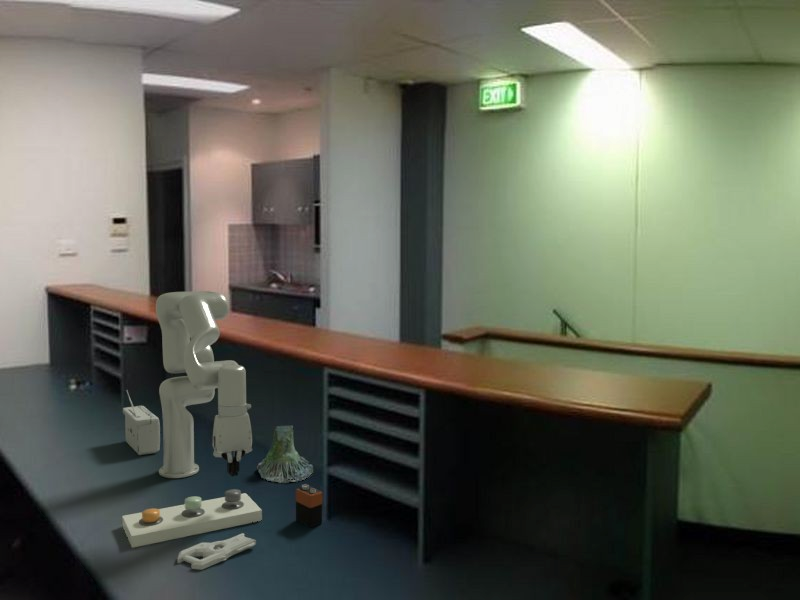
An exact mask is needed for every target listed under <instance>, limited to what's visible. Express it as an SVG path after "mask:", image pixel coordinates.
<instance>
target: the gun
mask: <svg viewBox="0 0 800 600" xmlns="http://www.w3.org/2000/svg"><path fill="white" fill-rule="evenodd" d="M256 545H257V540H256V539H253V538H250V537H246V536H245V533H243V532H242V533H239V534H238V535H237V534H236V535H235V536H232V537H230V538H227V539H224V540H217V541H213V542H200V543H197V544H195V545H193V546H192V545H191V546H190V547H187V548H186V549H182V550H181V551H179V553H178V556H177V558H176V561H177V564H181V563H184V562H186V563H187V564H188V563H189V564H191V566H190V567H191V570H198V571H199V570H200V571H201V570H205V569H207V568H209V567H211V566H215V565H216V564H218V563H221V562H224V561H227V560H228V559H229V558H230V557H232V556H235V555H236V554H239V553H242V552H243V551H246V550H248V549H250V548H252V547H254V546H256ZM197 557H198V558H197ZM200 557H202V558H201V559H199V558H200Z"/></svg>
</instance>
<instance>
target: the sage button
mask: <svg viewBox="0 0 800 600" xmlns="http://www.w3.org/2000/svg"><path fill="white" fill-rule="evenodd" d="M201 501H202V497H200V496H197V495H196V496H189V497H185V499H184V504H185V509H187V510H195V509H199V508H200V507H201V506H202V504H201Z"/></svg>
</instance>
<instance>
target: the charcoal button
mask: <svg viewBox="0 0 800 600" xmlns="http://www.w3.org/2000/svg"><path fill="white" fill-rule="evenodd" d="M241 494H242V491H241V490H240V489H238V488H237V489H236V488H235V489H234V488H233V489H228V490H225V491H224V497H225V501H226V502H237V501H239V500H241Z"/></svg>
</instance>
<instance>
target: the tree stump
mask: <svg viewBox="0 0 800 600" xmlns="http://www.w3.org/2000/svg"><path fill="white" fill-rule="evenodd" d="M272 438H273V439H272V443H271V447H270V448H269V450H268V452H267V454H266V457H265V458H264V459H262V461H261V462H259V463H258V464H257V466H256V469H257V471H258V473H259V475H260V478H261V479H262V478H263V480H265V479H266V480H267V482H268V481H271V482H270V483H274V482H278V483H277V484H281V483H282V484H290V483H289V482H296V483H299V482H298V481H300V482H303V481H302V480H304V481H306V480H307V479H306V478H308V477H309V476H310V475H311V474H312V473H313V474H314V466H313V464H311V462H310V461H309V460H306V458H305V456H300V454H299V452H298V451H297V450H296V448H295V444H294V443H295V442H294V426H293V425H278V426H277V425H276V426H274V432H273V437H272ZM313 474H312V475H313ZM312 475H311V476H312ZM311 476H310V477H311ZM310 477H309V478H310ZM309 478H308V479H309ZM288 479H290V480H288ZM291 479H293V480H291ZM294 479H295V480H294ZM305 479H306V480H305ZM266 480H265V481H266Z"/></svg>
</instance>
